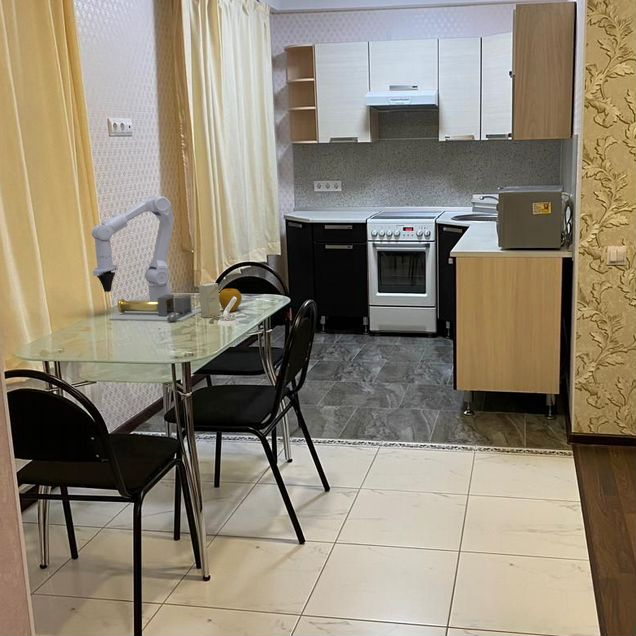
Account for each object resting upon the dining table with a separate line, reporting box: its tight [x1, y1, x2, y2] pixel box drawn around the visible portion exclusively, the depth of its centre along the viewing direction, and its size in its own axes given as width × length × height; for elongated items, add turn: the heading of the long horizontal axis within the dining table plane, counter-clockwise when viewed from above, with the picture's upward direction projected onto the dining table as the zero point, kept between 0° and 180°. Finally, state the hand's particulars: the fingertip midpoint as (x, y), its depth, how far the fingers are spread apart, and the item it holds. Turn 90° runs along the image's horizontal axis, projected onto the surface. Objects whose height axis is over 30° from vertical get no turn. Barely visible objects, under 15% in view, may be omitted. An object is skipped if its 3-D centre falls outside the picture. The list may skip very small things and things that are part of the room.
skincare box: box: [198, 282, 221, 319], centre depth 308 cm, size 6×4×12 cm
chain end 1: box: [157, 293, 175, 317], centre depth 316 cm, size 15×3×7 cm, turn 163°
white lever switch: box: [217, 296, 240, 327], centre depth 293 cm, size 8×12×7 cm
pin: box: [117, 298, 169, 314], centre depth 315 cm, size 5×19×5 cm, turn 73°
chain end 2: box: [167, 294, 193, 322], centre depth 307 cm, size 15×3×7 cm, turn 163°
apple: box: [219, 288, 243, 313], centre depth 316 cm, size 8×8×9 cm
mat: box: [108, 309, 201, 322], centre depth 314 cm, size 18×30×1 cm, turn 73°
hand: (107, 291), depth 318 cm, fingers closed
